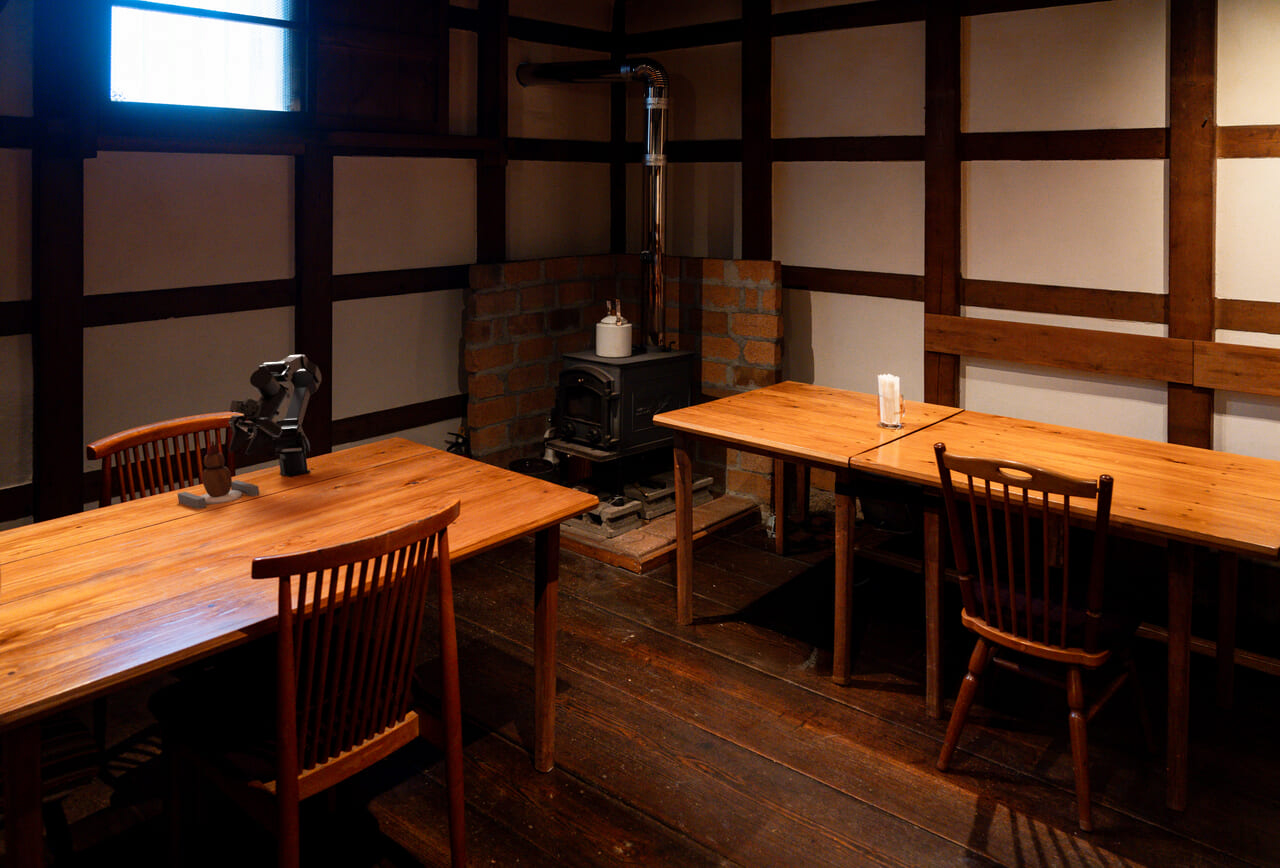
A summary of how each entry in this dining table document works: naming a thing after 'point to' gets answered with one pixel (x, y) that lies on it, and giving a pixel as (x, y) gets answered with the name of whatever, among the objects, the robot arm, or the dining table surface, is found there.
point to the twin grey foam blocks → (200, 501)
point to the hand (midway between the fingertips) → (238, 452)
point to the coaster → (222, 497)
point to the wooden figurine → (216, 472)
